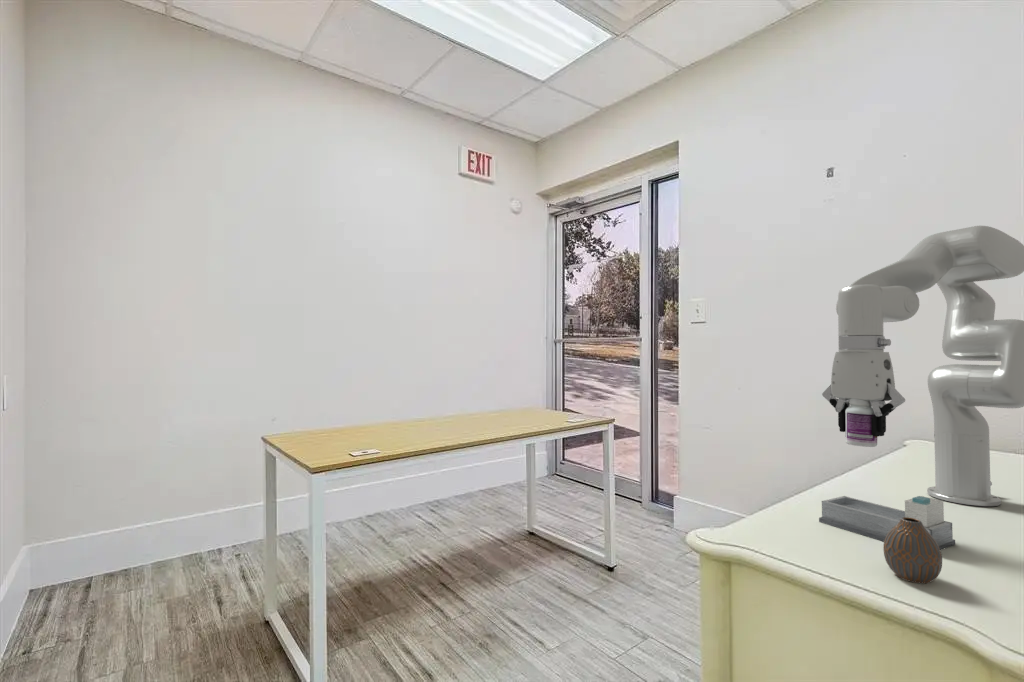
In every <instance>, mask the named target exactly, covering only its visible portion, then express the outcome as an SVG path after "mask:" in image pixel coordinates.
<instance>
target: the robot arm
mask: <svg viewBox="0 0 1024 682" xmlns="http://www.w3.org/2000/svg"><path fill="white" fill-rule="evenodd" d="M1023 273H1024V244H1023V242H1021V241H1019V240H1018V239H1016V238H1015V237H1013V236H1011V235H1010V234H1008V233H1006V232H1005V231H1002V230H1000V229H998V228H995V227H992V226H990V225H989V226H988V225H973V226H969V227H968V226H967V227H963V228H957V229H953V230H946V231H942V232H937V233H933V234H931V235H928V236H926V237H925V238H923V239H922V240H921V241H919V242H918V243H917V244H916V245H915V246H914V247H912V249H911V250H909V251H908V252H907V253H906V254H905V255H903V257H902V258H901V259H899V260H897V261H896V262H893V263H890V264H888V265H886V266H884V267H881V268H879V269H877V270H874V271H873V272H871V273H868V274H866V275H864V276H862V277H860V278H857V280H855V281H854V282H852V283H851V284H850V285H848V286H844V287H842V288H841V289H840V290H839V291H838V295H837V301H836V304H835V305H836V308H835V310H836V314H837V315H838V317H837V318H838V319H837V321H838V325H837V326H838V328H837V329H838V331H837V333H838V334H837V336H838V351H836V352H835V354H834V357H833V361H832V367H831V375H830V376H831V380H830V385H829V386H828V387H827V388H826V389H825V390H824V391H823V392H822V393H821V395H822V397H823V398H824V399H825V400H826V401H828V402H829V404H830V405H831V406H832V408H834V410H835V412H837V413H838V416H837V418H838V419H837V421H838V423H837V424H838V427H839V432H840V433H841V432H842V433H845V410H846V409H847V408H848V407H850V406H851V404H850V403H849V399H860V400H863V401H870V403H871V405H872V408H873V411H874V416H872V418H871V422H872V435H873V436H876V437H877V438H879V437H884V436H885V433H886V432H887V417H888V416H889V415H890V413H892V412H894V410H896V409H897V408H898V407H900V406H902V405H903V404H904V403H906V399H905V397H904V396H903V395H902V394H901V393H900V392H899V391H898V390H897V389H896V385H895V384H896V383H895V382H896V381H895V374H894V368H893V364H892V359H891V356H890V352H889V351H885V349H886V347H889V346H891V345H892V341H891V340H892V339H890V338H885V336H884V323H897V322H904V321H907V320H909V319H910V318H912V317H914V316H915V315H916V314H917V312H918V311H919V309H920V308H919V307H920V299H919V296H918V293H921V292H924V291H926V290H928V289H931V288H932V287H934V286H935V285H937V287H938V288H939V289H940V291H941V293H942V294H943V296H944V299H945V303H946V313H945V320H944V325H943V326H944V327H943V333H942V339H941V340H942V344H941V345H942V347H941V349H942V352H943V354H944V356H946V357H947V358H950V359H952V360H956V361H970V362H971V361H973V362H975V361H976V362H978V361H979V362H980V361H981V362H1001V363H1000V364H994V365H993V364H958V363H957V364H944V365H941V366H937V367H935V368H933V369H932V370H931V371H930V372H929V374H928V376H927V388H928V391H929V392H928V393H929V396H930V400H931V405H932V410H933V411H932V412H933V429H934V430H933V432H934V433H933V434H934V435H933V438H934V443H933V444H934V474H935V475H934V477H935V478H934V479H935V480H934V481H935V486H929V487H927V488H926V493H927V494H928V495H929V496H931V497H933V498H934V499H937V500H942V501H946V502H951V503H955V504H962V505H967V506H977V507H997V506H1000V505H1001V503H1002V500H1001V498H999V496H997V495H994V494H992V492H991V491H992V490H991V487H992V485H993V482H992V481H991V460H990V459H991V456H990V455H991V454H990V453H991V452H990V450H991V449H990V426H989V424H988V422H987V420H986V418H985V417H984V416H983V415H982V413H981V412H980V411H979V410H978V409H977V408H976V407H986V408H995V409H997V408H998V409H999V408H1000V409H1021V408H1023V407H1024V320H1022V319H1018V318H1017V319H1013V318H1011V319H1004V318H1003V319H995V313H996V312H995V311H996V302H995V299H994V298H993V297H992V296H991V295H990V294H989V293H988V292H987V291H986V290H984V288H982V287H980V286H979V285H978V284H977V283H976V282H984V281H986V282H987V281H992V280H993V281H994V280H1002V279H1004V280H1005V279H1010V278H1011V279H1012V278H1014V277H1018V276H1019V275H1021V274H1023ZM886 402H887V403H886Z"/></svg>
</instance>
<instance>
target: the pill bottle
mask: <svg viewBox="0 0 1024 682" xmlns="http://www.w3.org/2000/svg"><path fill="white" fill-rule="evenodd" d="M849 403H850V404H851V405H850V407H848V408H847V409H846V410H845V432H844V433H845V435H844V436H845V437H844V438H845V443H846V444H848V445H850V446H854V447H855V446H856V447H864V448H875V447H877V445H878V437H876V436H873V435H872V422H871V418H872V416H874V411H873V408H872V405H871V403H870V401H863V400H860V399H849Z"/></svg>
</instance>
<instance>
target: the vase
mask: <svg viewBox="0 0 1024 682" xmlns="http://www.w3.org/2000/svg"><path fill="white" fill-rule="evenodd" d="M882 550H883V556H884V559H885V562H886V564H887V565H888V567H889V568H890V570H891V571H892V572H893V573H894V574H895V575H896V576H897V577H899V578H900V579H903V580H905V581H908V582H912V583H917V584H929V583H931V582H933V581H934V580H936V579H937V578H938V577H939V575H940V574H941V571H942V568H943V556H942V555H943V554H942V550H940V548H939V546H938V544H937V542H936V541H935V539H934V538H933V537H932V536H931V535H930V533H929V532H928V531H927V530H926V529H925V527H924V526H923V524H922V522H921V521H920V520H918V519H915V518H909V517H903V518H901V520H900V521H899V523H898V524H897V525H896V526H895V527H893V528H892V529H891V530H890V531H889V532H888V534H887V535H886V537H885V540H884V541H883V549H882Z"/></svg>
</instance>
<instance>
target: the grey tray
mask: <svg viewBox="0 0 1024 682" xmlns="http://www.w3.org/2000/svg"><path fill="white" fill-rule="evenodd" d="M944 506H945V505H944V500H941V499H938V498H934V497H933V498H931V497H927V496H923V495H917V496H914V497H912V498H910V499H909V498H908V499H905V500H904V510H902V509H898V508H894V507H890V506H886V505H882V504H879V503H875V502H870V501H865V500H861V499H857V498H853V497H850V496H846V495H843V496H838V497H833V498H830V499H825V500H821V517H819V518H818V522H819V523H823V524H825V525H830V526H833V527H836V528H839V529H842V530H845V531H849V532H851V533H855V534H858V535H862V536H865V537H867V538H868V537H869V538H872V539H875V540H878V541H880V542H884V540H885V537H886V535H887V534H888V532H889V531H890V530H891V529H892V528H893V527H895V526H896V525H897V524H898V523H899V521H900V520H901V518H903V517H909V518H915V519H918V520H920V521H921V522H922V524H923V526H924V527H925V529H926V530H927V531H928V532H929V533H930V535H931V536H932V537H933V538H934V539H935V541H936V542H937V544H938V546H939V548H940V551H942V550H944V548H945V549H947V548H950V547H952V546H954V545H955V546H956V539H954V538H953V522H952V521H951V522H950V521H946V520H945V519H944V517H945V516H944V513H945V511H944V510H945V508H944Z"/></svg>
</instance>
